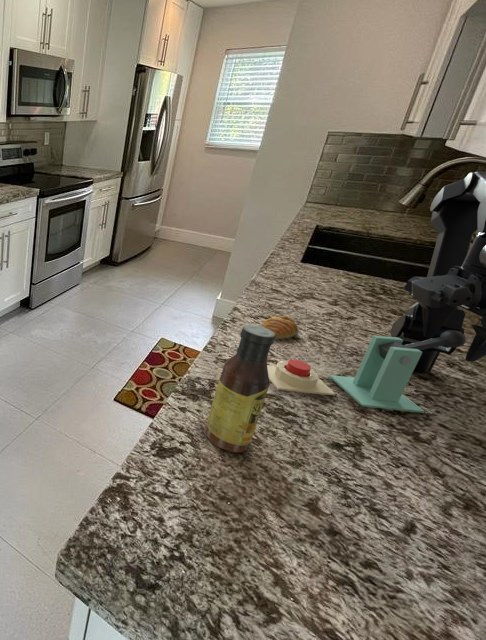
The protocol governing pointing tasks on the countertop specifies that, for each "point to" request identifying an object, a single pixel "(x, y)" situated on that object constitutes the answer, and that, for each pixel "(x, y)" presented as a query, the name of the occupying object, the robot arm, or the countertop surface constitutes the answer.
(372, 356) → the lever bracket
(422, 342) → the press lever
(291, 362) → the button
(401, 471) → the countertop surface
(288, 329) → the pastry
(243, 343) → the sauce bottle
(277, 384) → the button block
